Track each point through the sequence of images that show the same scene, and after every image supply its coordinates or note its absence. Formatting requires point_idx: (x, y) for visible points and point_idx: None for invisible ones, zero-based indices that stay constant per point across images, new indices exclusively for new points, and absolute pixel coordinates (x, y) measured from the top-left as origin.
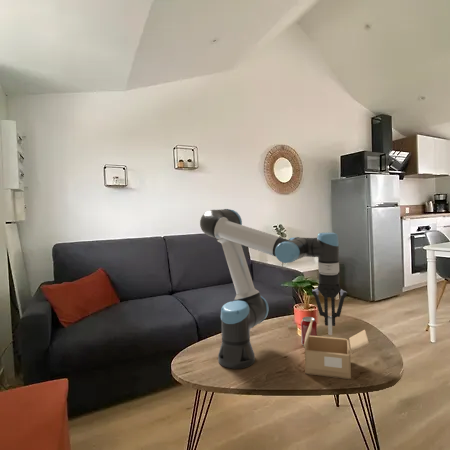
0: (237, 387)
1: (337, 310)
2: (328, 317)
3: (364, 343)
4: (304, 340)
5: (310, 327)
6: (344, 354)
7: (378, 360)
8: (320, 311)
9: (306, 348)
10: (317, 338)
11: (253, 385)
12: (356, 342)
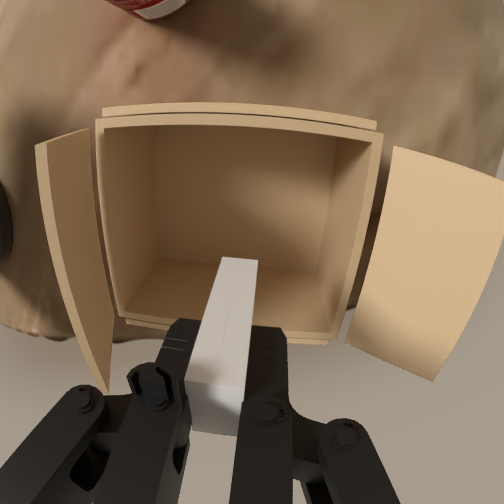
0: (41, 332)
1: (332, 492)
2: (198, 418)
3: (423, 358)
4: (124, 10)
5: (81, 346)
6: (309, 336)
7: (460, 113)
8: (91, 468)
9: (121, 297)
10: (163, 124)
11: (59, 326)
12: (407, 287)
